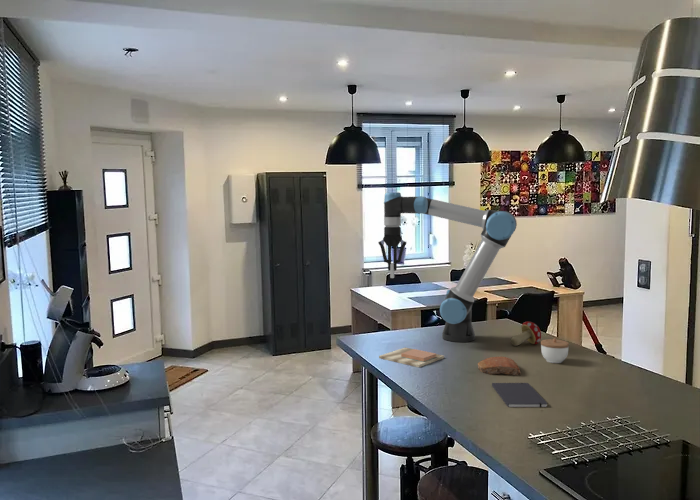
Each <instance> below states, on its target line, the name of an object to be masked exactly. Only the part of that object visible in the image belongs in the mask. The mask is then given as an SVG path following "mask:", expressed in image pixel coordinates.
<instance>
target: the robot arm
mask: <svg viewBox="0 0 700 500" xmlns="http://www.w3.org/2000/svg"><path fill="white" fill-rule="evenodd" d="M383 199H384V200H383V201H384V202H383V204H384V205H383V207H384V209H383V210H384V211H383V212H384V215H383V217H384V218H383V221H384V222H383V225H384V227H383V233H384V236H383V238H382V240H380V241H378V245H379V247H380V251H381V254H382V259H383V262H384V263H387V270H388V271H390V272H389V273H390V275H389V277H390V279H394V278H395V272H396V271H397V268H398V266H397V264H399V263H400V262H401V261H402V257H403V253H404V248H405V247H406V245H407V241H406V240H403V239H402V233H401V232H402V228H401V224H402V219H401V218H402V216H401V215H402V214H417V215H418V214H419V215H420V214H421V215H422V214H424V215H428V216H432V217H436V218H441V219H445V220H448V221H454V222H457V223H462V224H465V225H466V224H467V225H471V226H475V227H479V228H481V229H482V231H481V234H480V237H481V241H480V243H479V244H478V246H477V248H476V249H475V250H474V253H473V255H472V256H471V259H470V260H469V262H468V263H467V266H466V268H465V270H464V271H463V272H462V275H461V277H460V278H459V279H458V280H459V281H458V282H457V284H456V286H454V287H451V288H450V289H447V291H446V294H445V299H444V300H443V301H442V302H441V304H440V305H439V314H440V316H441V318H442V319H443V320H444V321H445V324H444V328H443V330H442V333H441V335H442V337H441V338H442V340H445V341H448V342H455V343H467V342H468V343H469V342H473V341H475V339H476V334H475V330H474V327H473V324H472V311H473V310H472V308H473V304H474V303H475V298H474V296H475V294H476V292H477V290H478V289H479V287H480V285H481V283H482V281H483V279H484V277H485V276H486V275H487V273H488V271H489V270H490V269H489V268H490V267H491V265H492V263H493V262H494V260H495V258H496V257H497V255H498V254H499V251H500V250H501V249H504V248H506V246H507V244H508V242H509V241H510V239H511V237H512V236H513V234H514V232H515V231H516V229H517V225H518V224H517V223H518V222H517V219H516V217H515V215H514V214H513V213H511V212H509V211H505V210H493V209H487V210H484V209H483V210H482V209H479V208H474V207H470V206H465V205H460V204H455V203H452V202H451V203H450V202H447V201H442V200H437V199H432V198H429V197H425V196H420V195H419V196H402V194H401V192H399V191H398V192H396V191H395V192H386V193H385V194H384V198H383ZM385 245H386V246H387V252H386V248H385ZM399 245H401V246H400V248H399V249H400V250H399V254H398V246H399ZM392 248H393V263H392Z"/></svg>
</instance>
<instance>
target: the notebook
mask: <svg viewBox="0 0 700 500" xmlns="http://www.w3.org/2000/svg"><path fill="white" fill-rule="evenodd" d="M491 387H492V388H493V389H494V391H495V392H496V393H497V394H498V396H499V398H500V399H501V400H502V401H503V402H504V404H505V405H506V406H507V408H546V407H548V402H547V400H546V399H544V398H543V397H542V396H541V395H540V394H539V392H537V390H536V389H535V388H533V386H532V385H531V384H530V383H528V382H492V383H491Z"/></svg>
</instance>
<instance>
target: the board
mask: <svg viewBox="0 0 700 500" xmlns="http://www.w3.org/2000/svg"><path fill="white" fill-rule="evenodd" d="M413 349H414V348H409V347H403V348H398V349H396V350H394V351H390V352H385V353H383V354H381V355H378V359H380V360H385V361H389V362H393V363H398V364H401V365H402V364H403V365H405V366H406V365H408V366H411V367H415V368H421V367H423V366H427V365H429V364H432V363H434V362H437V361H440V360H443V359H444V358H445V355H443V354H438V353H436V358H433V359H431V360H428V361H425V362H421V361H416V360H412V359H407V358H403V357H401V353H404V352H407V351H410V350H413Z"/></svg>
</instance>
